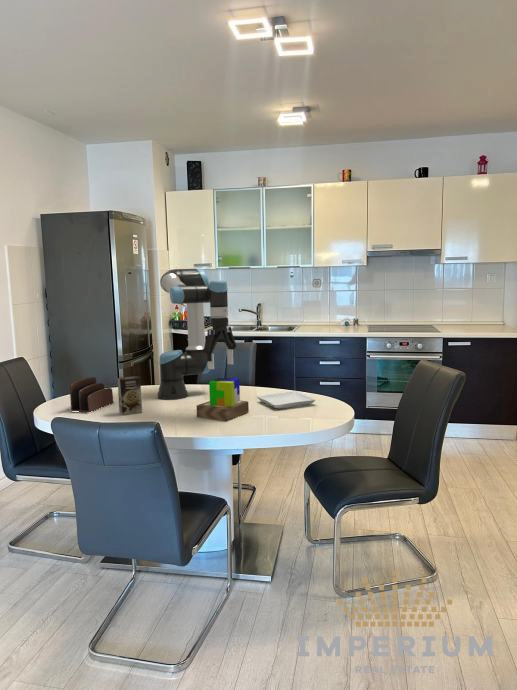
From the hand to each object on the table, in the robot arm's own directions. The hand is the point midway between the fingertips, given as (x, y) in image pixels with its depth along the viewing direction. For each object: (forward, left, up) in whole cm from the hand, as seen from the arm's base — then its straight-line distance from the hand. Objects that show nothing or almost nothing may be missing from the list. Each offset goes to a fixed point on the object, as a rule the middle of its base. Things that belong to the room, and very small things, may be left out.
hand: (221, 366), depth 219 cm
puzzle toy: (+1, 0, -16) cm, 16 cm away
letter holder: (-64, -17, -22) cm, 70 cm away
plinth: (0, 0, -21) cm, 21 cm away
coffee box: (-40, -16, -21) cm, 48 cm away
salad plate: (+14, +30, -22) cm, 40 cm away
